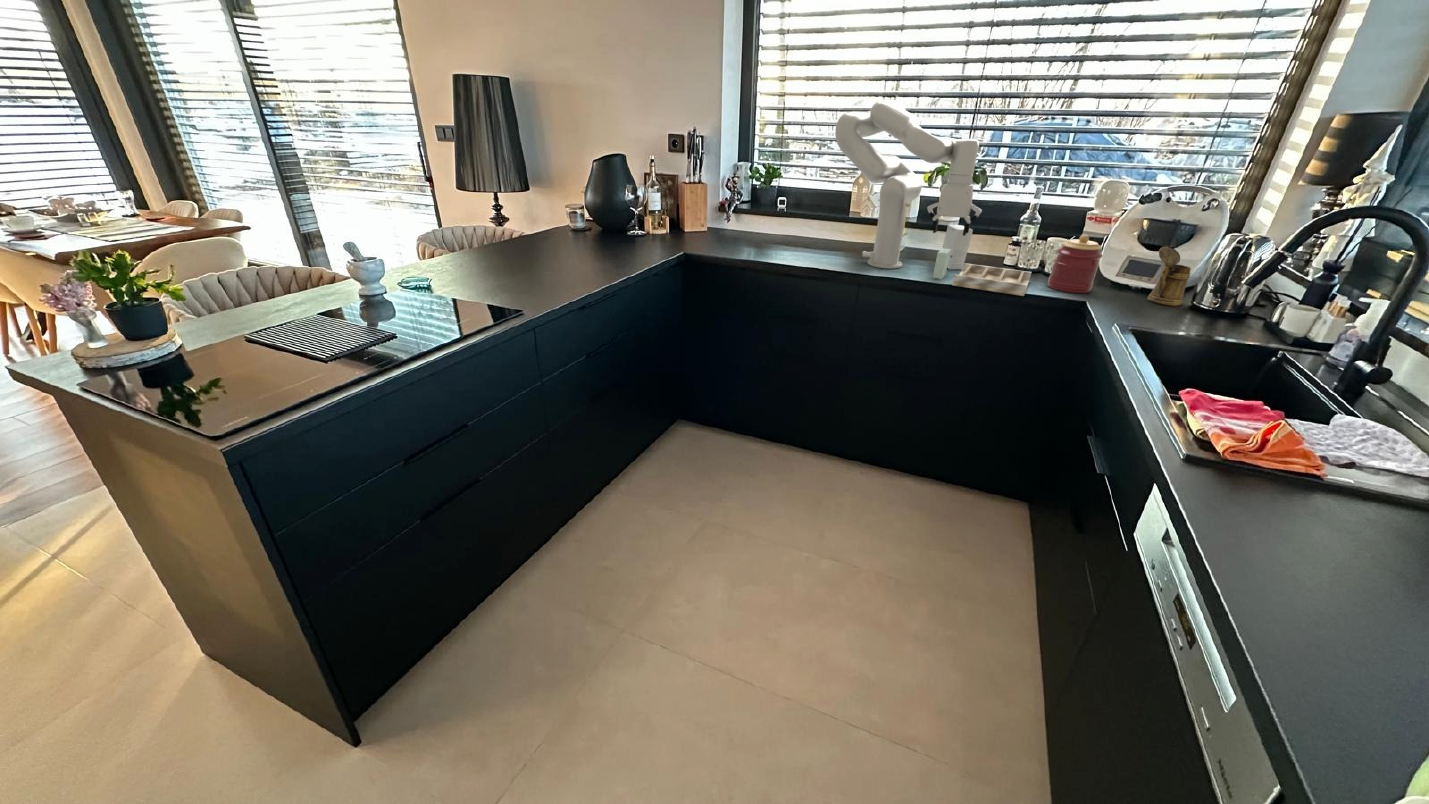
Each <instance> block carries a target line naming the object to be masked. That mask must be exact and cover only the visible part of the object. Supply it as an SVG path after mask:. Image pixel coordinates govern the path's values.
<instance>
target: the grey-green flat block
mask: <svg viewBox="0 0 1429 804" xmlns="http://www.w3.org/2000/svg"><path fill="white" fill-rule="evenodd" d="M950 252H951V249H944V248H943V247H942V248H941V249H940V250H938V251H937V255H936V260H935V264H934V269H933V273H932V278H933V277H934V278H933V279H935V278H940V279H939V280H942V279H944V277H945V276H946V275H947V271H948V269H947V266H948V262H949V257H950Z"/></svg>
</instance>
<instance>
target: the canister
mask: <svg viewBox="0 0 1429 804" xmlns="http://www.w3.org/2000/svg"><path fill="white" fill-rule="evenodd" d="M1061 246H1062V247H1060V248H1058V249H1057V250H1056V252H1057V255H1056V258H1054V259H1053V265H1052V268H1051V271H1050V275H1049V277H1048V280H1047V286H1048V288H1051V289H1053V290H1055V291H1059V292H1060V291H1061V292H1065V293H1070V294H1071V293H1073V294H1086V293H1089V292H1090V291H1091V289H1092V288H1093V285H1094V280H1095V277H1096V276H1097V275H1096V274H1097V271H1098V269H1099V267H1100V265H1099V263H1100V262H1099V261H1100V259H1101V258H1103V254H1102V253H1101V252H1100V251H1101V250H1102V249H1103V247H1102V246H1101V245H1099V243H1098V242H1097V241H1093V240H1090V237H1089V235H1088V234H1081V235H1080V236H1079V238H1078V239H1075V238H1074V239H1073V238H1072V239H1068V240H1066V241H1064V242H1061Z"/></svg>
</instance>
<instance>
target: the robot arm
mask: <svg viewBox="0 0 1429 804" xmlns="http://www.w3.org/2000/svg"><path fill="white" fill-rule="evenodd" d="M919 122H920V121H919V118H918V117H917V116H916V115H915V114H912V113H911V112H909V111H908V110H906V106H905V105H904V104H903V103H902V101H899V100H895V99H881V100H878V101H876V102H875V103H874V104H873V105H872V107H871V108H870V110H868V111H860V110H859V111H857V110H856V111H852V110H851V111H848V112H845V113H844V114H842V115H841V116H840V117H839V118H838V120H837V122H836V125H835V131H834V132H835V134H834V135H835V140H836V143H837V147H838V148H839V149H840V151H841V152H842V153H843V155H845V156H846V157H847V159H848V160H850V161H851V162H852V164H854V166H855V167H856V168H857V169H858V170H859V171H860V172H861V173H862V174H863V176H864V177H865V178H866V179H867V180H868V181H869V182H870V183H873V184H881V185H880V190H879V209H878V210H879V211H878V212H879V213H878V219H877V226H876V232H875V237H874V238H875V241H874V245H873V251H866V250H862V252H861V256H862V257H863V258H869V259H868V260H867V265H868V266H871V267H875V268H879V269H886V270H887V269H891V270H892V269H899V268H901V267H903V262H902V261H901V260H899V259H900V254H901V250H902V249H901V248H902V241H903V237H904V231H905V225H906V224H905V223H906V219H907V209H906V208H907V207H906V203H909V202H912V201H914V200H917V198H918V197H919V196H920V194H921V192H922V182H921V180H920V178H919V177H918V175H917V174H915V172H914V171H913V170H912V169H911V168H910V167H909V166H908V165H907V164H906V163H905V162H904V161H903V160H902V159H901V158H900V157H898V156H897V155H894V154H889V153H888V154H883V153H880V152H879V151H878V150H877V149H876V148H875V147H874V146H873V145H872V144H871V143H870V142H869V141H867V140H866V139H865V138H866V137H871V136H874V135H877V134H879V133H882V132H885V133H887V134H889V135H890V136H892V137H893V138H895V139H896V140H898V141H900V142H901V144H902V145H903V146H904V147H905V148H906V149H907V150H908V151H909V152H910V153H912V155H915V156H917V158H920V159H921V160H922V161H924V162H926V163H929V164H938V163H939V164H940V163H949V162H950V164H949V168H948V169H949V170H948V174H946V175H943V177H942V180H943V181H945V182H946V183H944V184H943V186H942V188H941V193H940V194H939V195H940V196H939V200H938V202H935V203H933V204H930V205H928V206H927V212H928V215H929V216H930V218H931V219H932V226H931V231H932V233H933V234H936V233H937V232H938V227H939V218H940V217H947V218H949V217H950V218H963V219H964V220H965V223H964V225H963V226H964V230H963V236H965V235H966V233H968V232H969V228H970V226H971V223H972V222H974V221H975V220H977V219H978V217H979V216H980V214H981V213H982V212H983V210H982V208H979V207H978V206H976V205H975V204H973V196H974V185H973V184H972V182H973V177H974V176H973V175H974V172H975V168H976V167H975V165H976V162H977V158H978V152H979V149H980V148H979V146H980V142H979V140H978V139H975V138H958V139H957V138H953V137H952V138H951V137H937V136H934V135H933V134H931V133H929V132H928V131H926V130H925V129H924V128H922V127H921V126H920V125H919ZM936 207H937V208H936ZM934 208H936V214H935V212H934V211H933V209H934ZM972 210H973V211H974V212H975V214H974V215H973V216H972V217H971V216H970V213H971V211H972Z"/></svg>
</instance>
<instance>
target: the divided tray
mask: <svg viewBox="0 0 1429 804" xmlns="http://www.w3.org/2000/svg"><path fill="white" fill-rule="evenodd" d="M1031 276H1032V271H1026V270H1025V271H1024V270H1018V269H1012V268H1004V267H996V266H988V265H982V264H975V263H974V264H972V263H965V262H964V264H963V268H962V269H961V271H960V272H959V273H958V274H955V273H954V274H953V277H952V282H951V286H954V287H960V288H961V287H962V288H967V289H968V288H969V289H976V290H982V291H989V292H995V293H1000V294H1001V293H1002V294H1008V295H1015V296H1020V297H1021V296H1022V297H1024V296H1025V294H1026V292H1027V289H1028V286H1029V283H1030V280H1031Z"/></svg>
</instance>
